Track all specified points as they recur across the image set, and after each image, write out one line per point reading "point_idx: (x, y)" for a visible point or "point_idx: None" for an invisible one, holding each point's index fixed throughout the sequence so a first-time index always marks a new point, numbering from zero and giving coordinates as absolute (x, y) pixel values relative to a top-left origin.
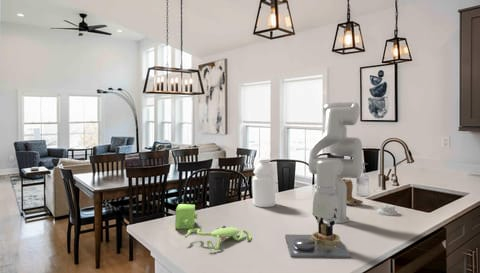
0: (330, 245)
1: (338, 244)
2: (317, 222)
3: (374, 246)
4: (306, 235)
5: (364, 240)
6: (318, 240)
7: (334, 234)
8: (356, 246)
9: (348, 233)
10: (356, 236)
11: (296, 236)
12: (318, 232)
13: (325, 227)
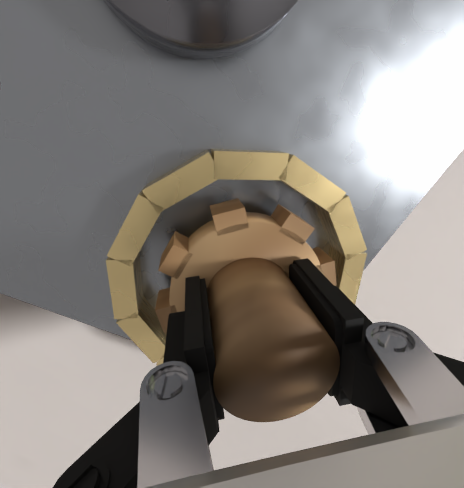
0: (109, 221)
1: (102, 293)
2: (396, 326)
3: (51, 464)
4: (399, 199)
5: None
6: (200, 157)
7: None
8: (91, 391)
9: (277, 455)
10: (221, 464)
11: (449, 96)
12: (306, 258)
13: (227, 328)
